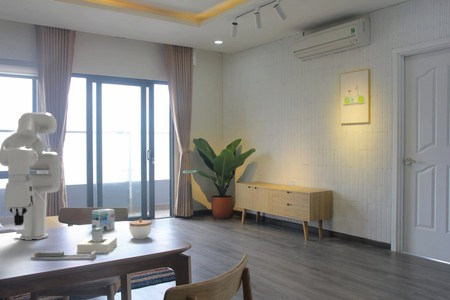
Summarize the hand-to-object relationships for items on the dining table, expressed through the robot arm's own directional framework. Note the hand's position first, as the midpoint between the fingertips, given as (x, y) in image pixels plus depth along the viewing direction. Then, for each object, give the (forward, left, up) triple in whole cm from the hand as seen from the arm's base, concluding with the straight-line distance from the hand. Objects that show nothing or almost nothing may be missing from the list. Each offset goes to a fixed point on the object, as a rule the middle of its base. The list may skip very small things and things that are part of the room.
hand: (19, 224), depth 161 cm
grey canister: (+26, +16, -14) cm, 33 cm away
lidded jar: (+40, +37, -14) cm, 57 cm away
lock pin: (+12, 0, -14) cm, 18 cm away
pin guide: (+17, 0, -14) cm, 22 cm away
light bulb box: (+15, +58, -14) cm, 62 cm away
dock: (+26, +15, -14) cm, 33 cm away
